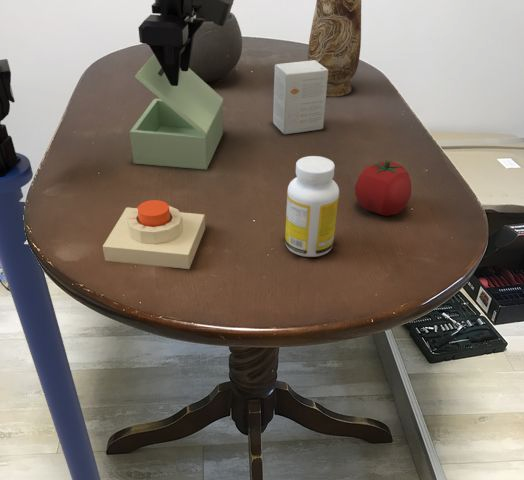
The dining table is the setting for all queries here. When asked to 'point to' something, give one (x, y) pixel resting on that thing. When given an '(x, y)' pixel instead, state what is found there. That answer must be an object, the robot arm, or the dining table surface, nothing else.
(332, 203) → the pill bottle
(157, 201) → the button
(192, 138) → the box
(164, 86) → the lid
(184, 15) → the robot arm
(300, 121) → the small box
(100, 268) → the dining table surface
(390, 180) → the tomato
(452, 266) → the dining table surface
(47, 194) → the dining table surface
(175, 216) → the release console
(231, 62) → the bowl
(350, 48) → the vase
